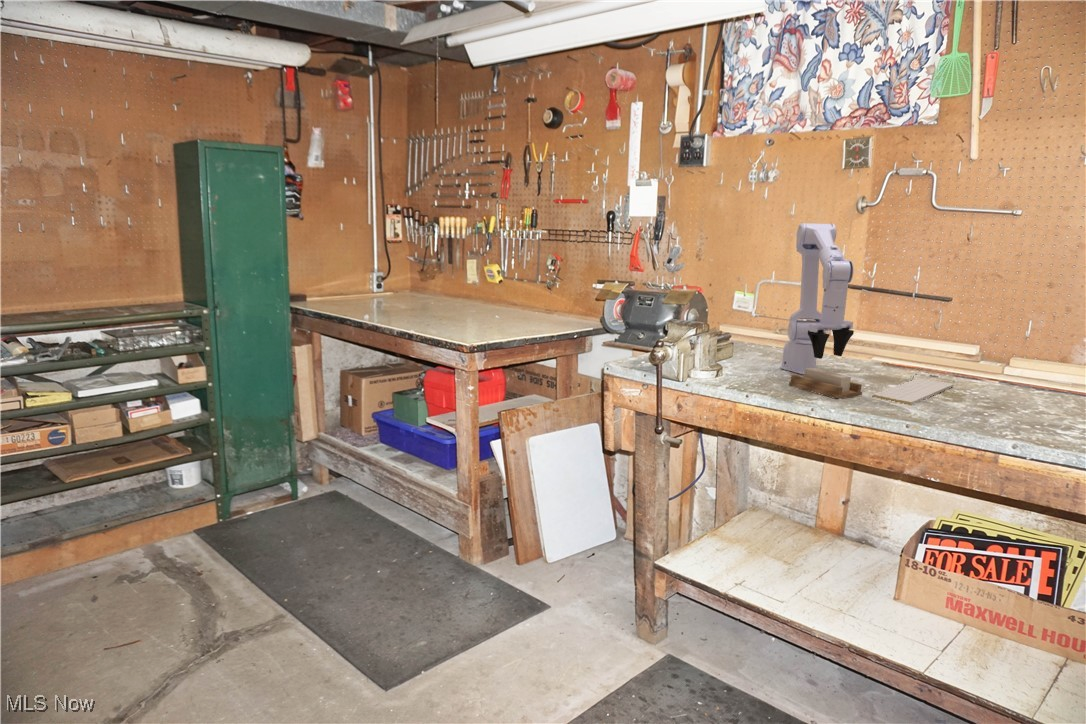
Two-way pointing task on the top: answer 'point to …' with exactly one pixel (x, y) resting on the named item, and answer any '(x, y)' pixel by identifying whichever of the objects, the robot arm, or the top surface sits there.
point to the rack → (824, 387)
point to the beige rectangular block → (828, 377)
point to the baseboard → (913, 390)
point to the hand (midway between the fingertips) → (827, 356)
